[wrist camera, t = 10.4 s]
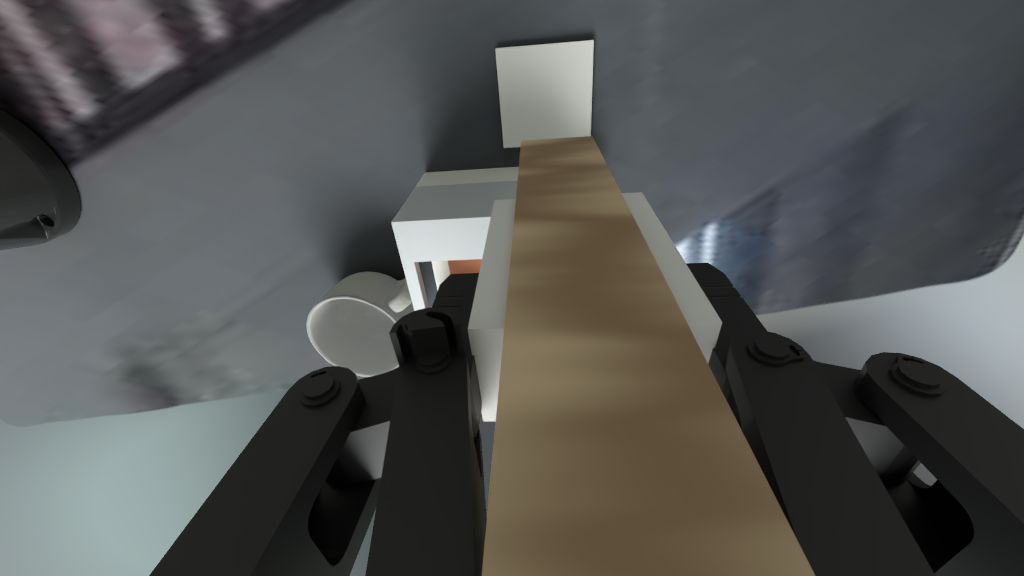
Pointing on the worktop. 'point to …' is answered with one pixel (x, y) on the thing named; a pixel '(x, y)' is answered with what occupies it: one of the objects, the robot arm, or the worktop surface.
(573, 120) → the pad
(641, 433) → the oak stick
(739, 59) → the worktop surface
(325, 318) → the teacup
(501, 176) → the white boxy piece
